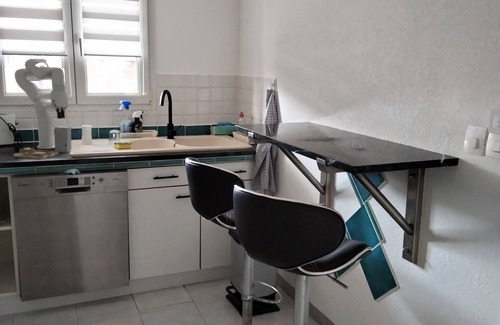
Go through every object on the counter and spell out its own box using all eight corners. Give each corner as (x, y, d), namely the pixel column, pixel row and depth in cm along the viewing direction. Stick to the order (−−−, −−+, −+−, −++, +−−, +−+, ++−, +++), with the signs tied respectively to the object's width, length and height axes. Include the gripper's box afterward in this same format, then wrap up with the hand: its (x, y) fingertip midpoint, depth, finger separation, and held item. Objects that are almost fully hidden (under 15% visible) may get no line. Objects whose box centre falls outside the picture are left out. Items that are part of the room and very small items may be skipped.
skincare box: (54, 152, 294) (52, 127, 290) (59, 150, 300) (57, 125, 297) (68, 152, 293) (66, 127, 290) (72, 150, 300) (71, 126, 297)
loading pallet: (32, 152, 294) (32, 146, 293) (59, 154, 288) (58, 148, 287) (13, 156, 280) (13, 150, 280) (40, 158, 274) (40, 153, 273)
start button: (27, 150, 288) (26, 147, 288) (31, 151, 287) (31, 148, 287) (22, 151, 285) (22, 148, 284) (27, 152, 284) (27, 149, 283)
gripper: (62, 87, 297) (65, 116, 301) (44, 88, 282) (47, 119, 286) (72, 87, 295) (74, 117, 298) (54, 89, 280) (57, 120, 284)
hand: (61, 118), depth 292 cm, fingers closed
